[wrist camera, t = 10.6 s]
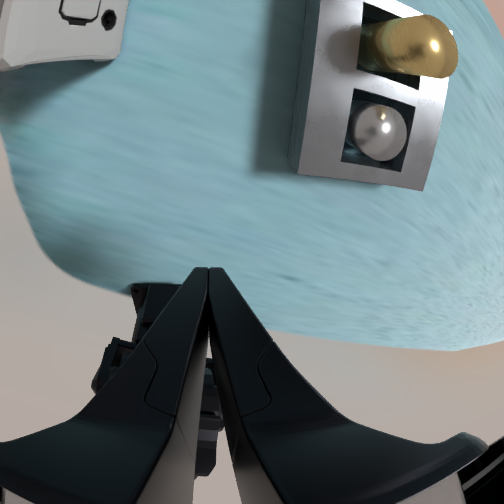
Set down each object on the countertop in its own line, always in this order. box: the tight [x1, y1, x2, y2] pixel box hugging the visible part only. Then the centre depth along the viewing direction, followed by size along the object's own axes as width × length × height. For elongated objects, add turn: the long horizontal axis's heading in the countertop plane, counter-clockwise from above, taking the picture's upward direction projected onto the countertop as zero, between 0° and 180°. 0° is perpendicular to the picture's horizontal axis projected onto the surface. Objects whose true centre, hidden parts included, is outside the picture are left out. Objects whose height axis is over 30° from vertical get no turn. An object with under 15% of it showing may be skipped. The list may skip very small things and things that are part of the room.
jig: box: [287, 0, 453, 191], centre depth 15 cm, size 13×10×3 cm
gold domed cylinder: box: [357, 15, 458, 79], centre depth 11 cm, size 4×4×7 cm
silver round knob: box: [345, 100, 407, 161], centre depth 16 cm, size 4×4×4 cm
